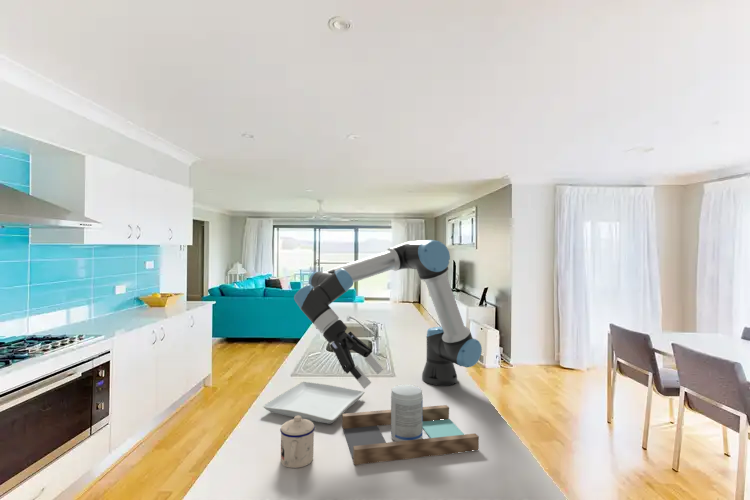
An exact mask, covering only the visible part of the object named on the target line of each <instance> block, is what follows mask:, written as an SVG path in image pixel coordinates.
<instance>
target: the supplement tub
mask: <svg viewBox="0 0 750 500" xmlns="http://www.w3.org/2000/svg"><path fill="white" fill-rule="evenodd" d="M390 395H391V396H390V410H391V425H390V436H391V438H392V440H393V441H394V442H398V441H407V440H417V439H423V431H424V429H423V428H422V427H423V407H424V406H423V403H424V401H423V399H424V398H423V389H422V388H421V387H419V386H417V385H412V384H399V385H395V386H393V387H392V388H391V393H390Z"/></svg>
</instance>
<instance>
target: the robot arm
mask: <svg viewBox="0 0 750 500" xmlns="http://www.w3.org/2000/svg"><path fill="white" fill-rule="evenodd" d="M450 260H451V256H450V251H449V249H448V247H447V246H446V244H444V243H443V242H442V241H440V240H435V239H421V240H420V239H418V240H417V239H413V240H408V241H406V242H403V243H399V244H397V245H395V246H392V247H388V248H387V249H386V251H385V252H384V251H383V252H381V253H377V254H374V255H371V256H368V257H365V258H362V259H358V260H355V261H352V262H349V263H346V264H342V265H338V266H336V267H333V268H330V269H326V270H324V271H320V270H319V271H314V272H313V273H311V274H310V275H309V278H308V284H306V285H305V286H303V287H301V288H300V289H299V290H297V292H296V293H295V294H294V296H293V299H294V301H295V303H296V304H297V306H298V307H299V309H300V310H301V311H302V312H303V314H304V315H305V316H306V317H307V318H308V320H310V322H311V323H312V324H313V325H314V326H315V328H316V329H317V330H318V331H319V333H321V334H322V337H323V338H324V339H325V340H326V341H327V342H328V343H329V344H330V345H329V347H330V348H331V349H332V351H333V352H334V355H335V356H336V359H337V360H338V362H339V364H340V366H341V369H342V370H343V372H345V373H346V374H349V373H350V374H351V376H353V378H355V380H356V381H357V382H358V383H359V384H360V386H361V387H362V388H363V390H365V389H366V388H367V387H368V386H370V385H371V384H372V381H371V380H370V379H369V377H368V376H367V375H366V374H365V373H364V372H363V370H362V369H361V368H360V367H359V366H358V365H356V363H355V362H354V358H353V356H352V353H351V351H353V352H355V353H357V355H360V356H361V357H363V358H364V361H365V362H367V364H368V365H369V367H371V369H372V370H373V371H374V372H375V373H376V374H377V375H379V374H380V373H382V371H383V370H384V366H382V365H381V363H379V361H378V360H377V359H376V358H375V356H373V354H372V353H373V349H372V348H371V347H369V346H368V345H367V344H366V343H364V342H363V341H362V340H361V339H359V338H358V337H357V336H356V335H355V334H354V333H353V332H351V331H349V332H348V333H347V332H346V330H347V329H348V327H347V325H346V324H345V323H344V322H343V320H342V319H340V317H339V315H338V314H337V313H336V312H335V311H334V310H333V309H332V307H330V305H331V304H333V302H334V301H336V300H337V299H338V298H340V297H341V296H342V295H344V294H345V293H346V292H348V291H349V290H350V289H351V288H352V287H353V286H354V283H357V282H359V281H363V280H365V279H368V278H371V277H374V276H378V275H379V274H383V273H386V272H389V271H395V272H398V271H400V270H406V269H408V270H409V269H411V270H416V271H417V274H418V277H419V279H420V280H422V281H423V282H425V285H426V287H427V291H428V293H429V296H430V298H431V301H432V304H433V307H434V308H435V311H436V315H437V318H438V321H439V323H440V326H434V327H430V328H428V329H427V331H426V336H425V337H426V359H425V360H426V361H425V364H424V368H423V371H422V374H421V375H422V376H421V379H422V382H424V383H426V384H429V385H432V384H433V385H432V386H438V385H448V386H451V385H450V384H453V385H455V384H456V382H457V383H458V375H457V371H456V368H455V365H457V366H459V367H464V368H472V367H474V366H475V365H476V364H477V363H478V362H479V360H480V358H481V356H482V350H483V349H482V343H480V341H479V340H478V339H477V338H474V337H473V335H472V333H471V330H470V328H469V327H467V326H465V324H464V321H463V318H462V316H461V313H460V310H459V307H458V304H457V301H456V298H455V295H454V293H453V290H452V288H451V285H450V282H449V281H450V280H449V279H448V276H447V273H448V271H449V267H448V266H449V264H450ZM454 383H455V384H454Z"/></svg>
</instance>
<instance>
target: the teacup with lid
mask: <svg viewBox="0 0 750 500" xmlns="http://www.w3.org/2000/svg"><path fill="white" fill-rule="evenodd" d="M315 428H316V427H315V424H314V421H311V420H307V419H302V417H301V416H299V415H297V416H295V417H293V419H289V420H287V421H285V422H284V423H283V424H282V425H281V427H280V429H279V431H280V432H279V433H280V463H281V464H282V465H283V466H285V467H286V468H291V469H299V468H303V467H306V466H308V465H309V464H311V463H312V461H313V460H314V444H315V443H314V439H315V438H314V435H315V433H314V432H315Z"/></svg>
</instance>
